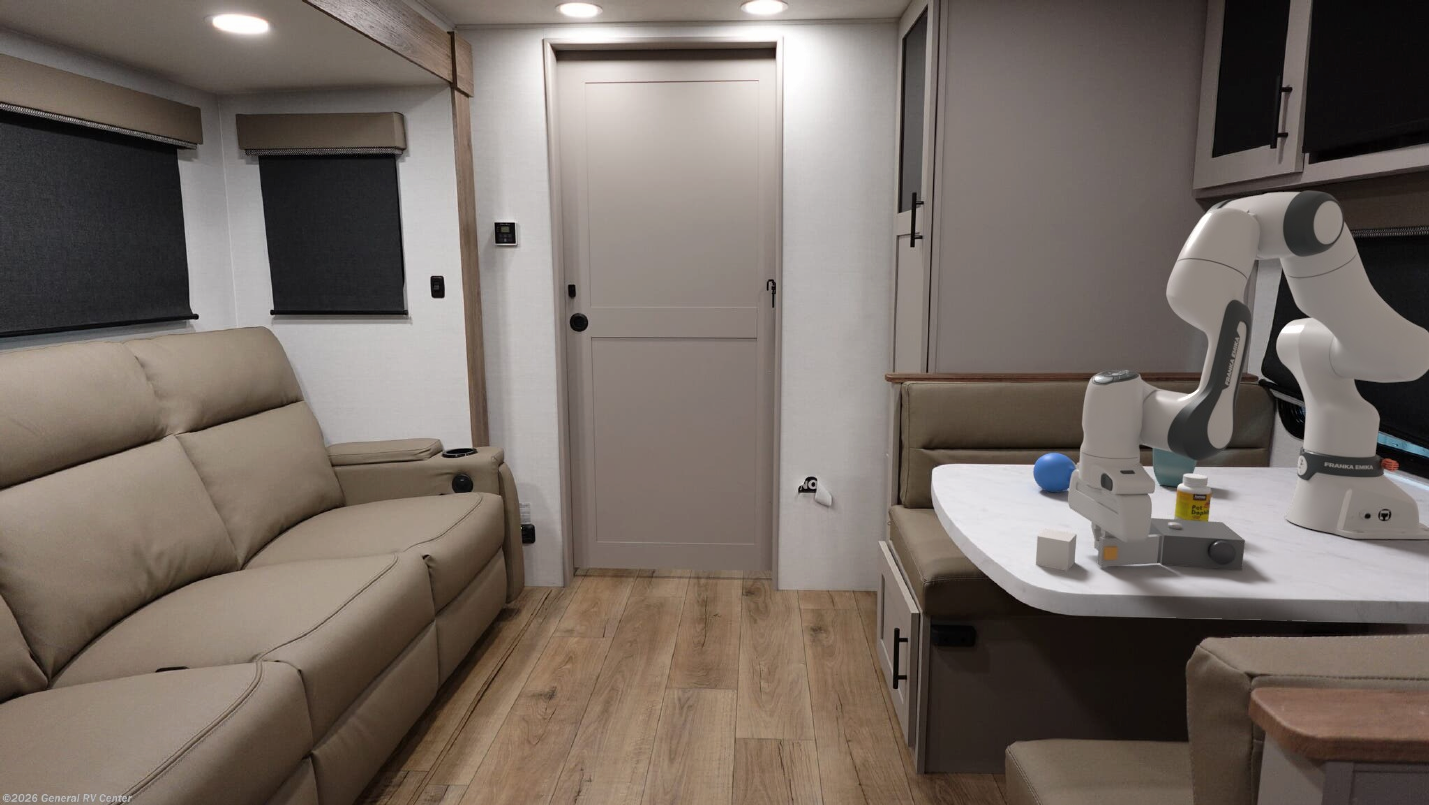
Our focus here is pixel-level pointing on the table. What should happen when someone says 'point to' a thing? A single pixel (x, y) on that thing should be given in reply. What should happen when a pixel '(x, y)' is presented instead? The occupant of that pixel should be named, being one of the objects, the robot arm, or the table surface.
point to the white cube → (1056, 549)
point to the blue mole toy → (1053, 472)
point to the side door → (1129, 551)
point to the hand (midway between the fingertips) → (1102, 551)
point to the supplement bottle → (1193, 498)
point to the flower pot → (1171, 467)
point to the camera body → (1198, 544)
